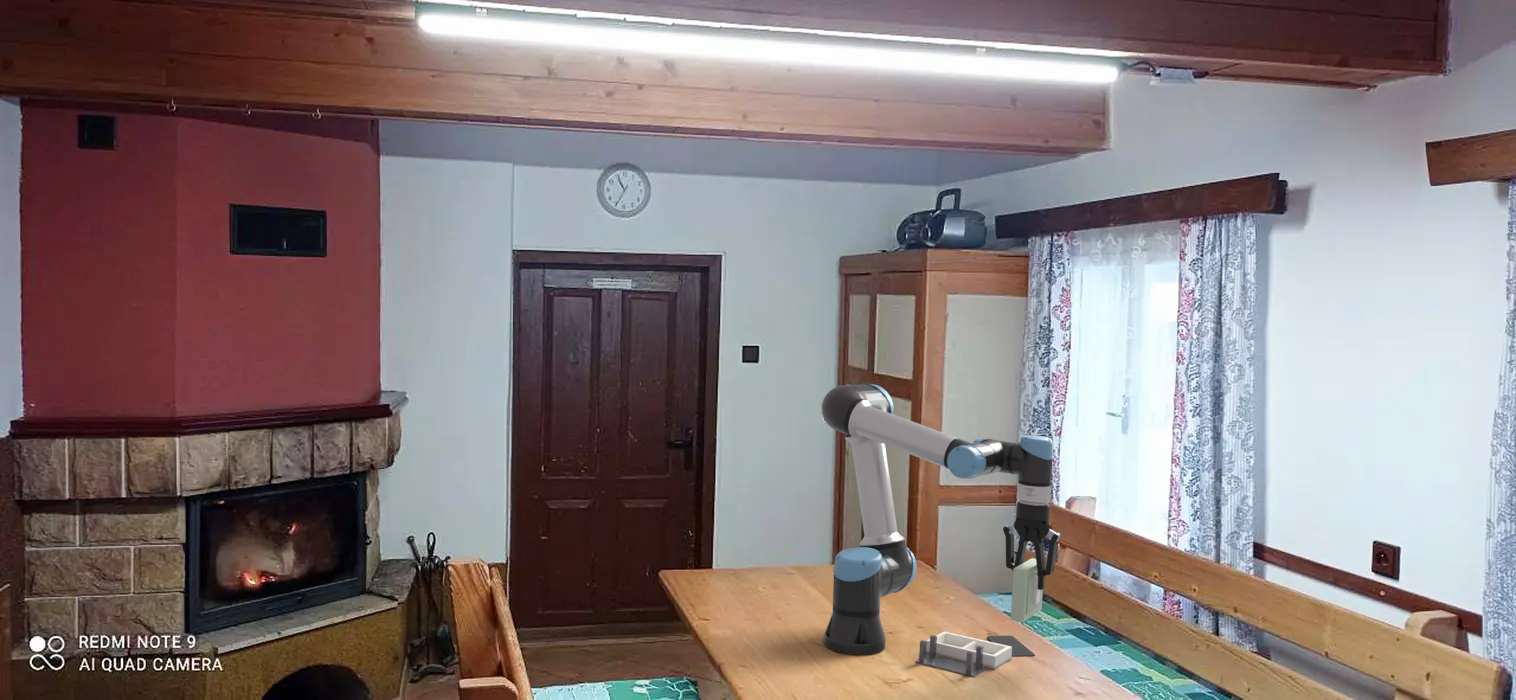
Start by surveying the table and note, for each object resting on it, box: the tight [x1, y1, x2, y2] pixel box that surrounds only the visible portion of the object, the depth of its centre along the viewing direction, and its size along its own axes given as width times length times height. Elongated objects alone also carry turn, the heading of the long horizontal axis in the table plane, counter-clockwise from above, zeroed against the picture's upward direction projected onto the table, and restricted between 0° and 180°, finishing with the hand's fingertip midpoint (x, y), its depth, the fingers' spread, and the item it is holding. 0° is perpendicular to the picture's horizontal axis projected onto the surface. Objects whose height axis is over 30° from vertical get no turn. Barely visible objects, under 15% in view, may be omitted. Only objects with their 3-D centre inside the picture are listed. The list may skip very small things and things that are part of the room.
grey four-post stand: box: [914, 634, 987, 678], centre depth 259 cm, size 15×7×5 cm, turn 55°
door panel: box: [1010, 557, 1044, 623], centre depth 258 cm, size 13×4×12 cm, turn 147°
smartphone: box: [986, 634, 1035, 658], centre depth 276 cm, size 7×1×15 cm
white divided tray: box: [926, 631, 1012, 670], centre depth 267 cm, size 18×10×3 cm, turn 55°
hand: (1027, 600), depth 258 cm, fingers closed on door panel, 3 cm apart
